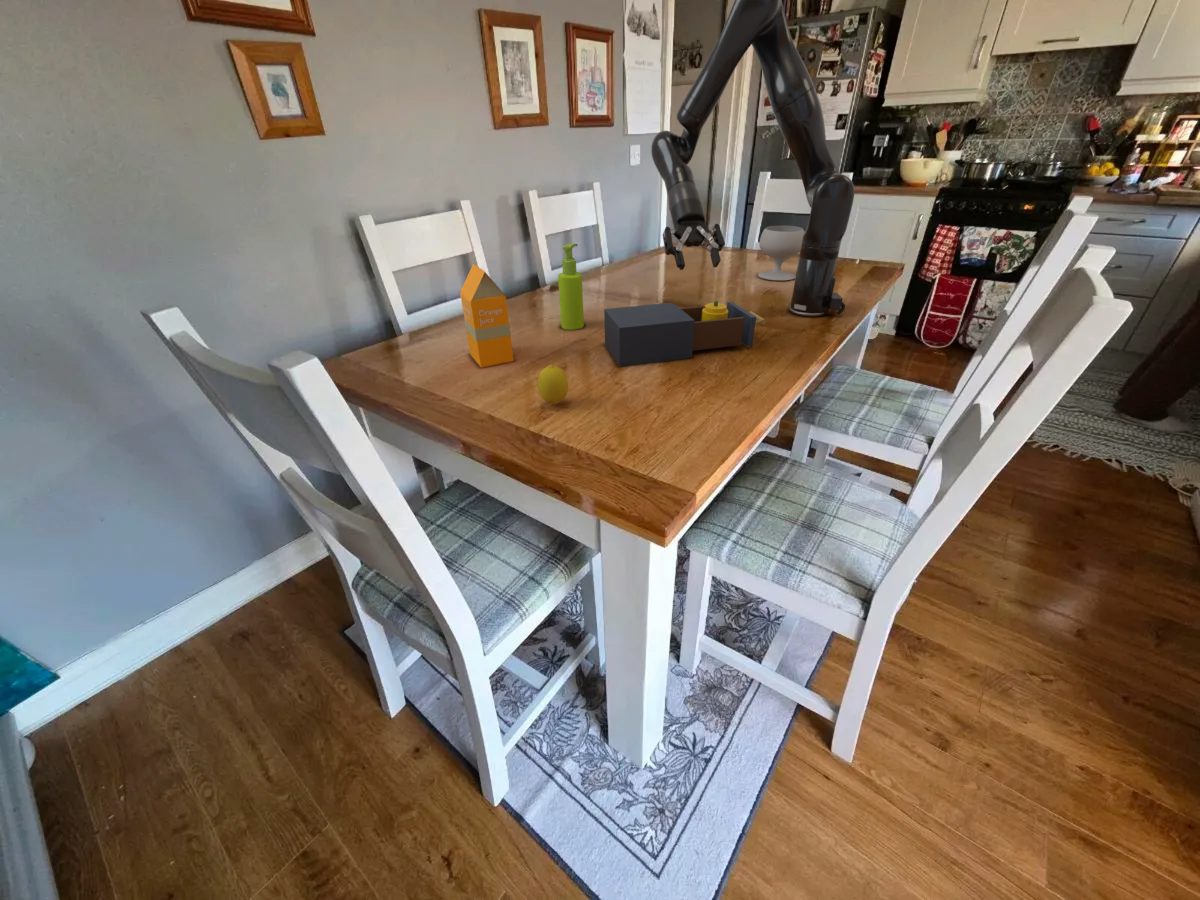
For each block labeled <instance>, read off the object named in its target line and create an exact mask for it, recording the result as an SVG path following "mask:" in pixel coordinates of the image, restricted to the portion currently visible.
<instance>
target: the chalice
mask: <svg viewBox="0 0 1200 900" xmlns="http://www.w3.org/2000/svg"><path fill="white" fill-rule="evenodd" d="M804 232H805V230H804V228H803V227H801V226H796V225H769V226H766V227H765V228H764V229H763V231H762V233H761V235H760V238H759V244H758V245H759V249H760V250H761V252H763V253H764V254H765V255H767V256H768V257H769V258H771V259H772V260H773V261H774V264H775V265H774V266H775V267H774V268H773V270H766V271H761V272H759V273H758V274H757V276H758V277H759V278H760V279H764V280H769V281H790V280H795V278H796V273H792V272H789V271H785V270H782V266H783V263H784V262H785V261H787V260H788V259H790V258H791V257H794V256H796V255H798V254H800V249H801V244H802V237H803V234H804Z"/></svg>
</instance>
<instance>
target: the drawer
mask: <svg viewBox="0 0 1200 900" xmlns="http://www.w3.org/2000/svg"><path fill="white" fill-rule="evenodd" d="M726 306H727V307H726V309H727V310H728V319H718V320H708V321H701V320H702V310H703V309H704V308H705V305H700V306H699V305H698V306H688V307H679V308H680V309H681V310H683V311H684V312H685V313H686V314H688V315H689V316H690V317H691V318H693V319H694V320H695V323H694V336H693V349H692V352H693V351H701V350H709V349H719V348H729V347H738V346H741V345H742V344H743V345H744V346H746V347H747V348H749V347H753V343H754V338H755V337H754V335H755V330H756V325H760V326H765V325H766V323H767V320H766V319H765V318H763V317H762V316H761V315H758V314H757V313H755V312H754V311H751V310H750V311H748V310H747V309H744V308H743V307H741V306H740V305H738V304H736V303H735V302H733V301H726Z"/></svg>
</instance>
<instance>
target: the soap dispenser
mask: <svg viewBox="0 0 1200 900" xmlns="http://www.w3.org/2000/svg"><path fill="white" fill-rule="evenodd" d="M575 247H578V243H566V244H563V246H562V250H564V256H565V257H564V258H563V259H562V260H561V263H562V265H561V266H562V272H561V273H559V274H557V282H558V295H559V308H560V309H559V311H560V324H561V325H560V327H561V328H562V329H563V330H569V331H576V330H580V329H583V328H584V326H585V320H584V319H585V317H584V295H583V292H584V291H583V274H582V272H577V259H576V258H574V257H573V248H575Z"/></svg>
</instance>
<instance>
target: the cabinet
mask: <svg viewBox="0 0 1200 900" xmlns="http://www.w3.org/2000/svg"><path fill="white" fill-rule="evenodd" d="M680 308H681V307H679V306H678V305H677V304H675V303H674V302H664V303H655V304H644V305H642V304H641V305H633V306H621V307H612V308H611V307H610V308H604V310H603V311H604V312H603V313H604V314H603V315H604V317H603V318H604V319H603V320H604V346H605V347H606V348H607V350H608V352H609V353H610V355H611V356H612V358H613V359H614V361H615V362H616V364H617V365H618V366H619V367H629V366H635V365H644V364H653V363H662V362H669V361H671V362H672V361H680V360H689V359H692V358H693V351H692V349H693V336H694V323H695V320H694V319H693V318H691V317H690V316H689V315H688V314H686V313H685V312H684V311H683V310H681V309H680Z"/></svg>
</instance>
